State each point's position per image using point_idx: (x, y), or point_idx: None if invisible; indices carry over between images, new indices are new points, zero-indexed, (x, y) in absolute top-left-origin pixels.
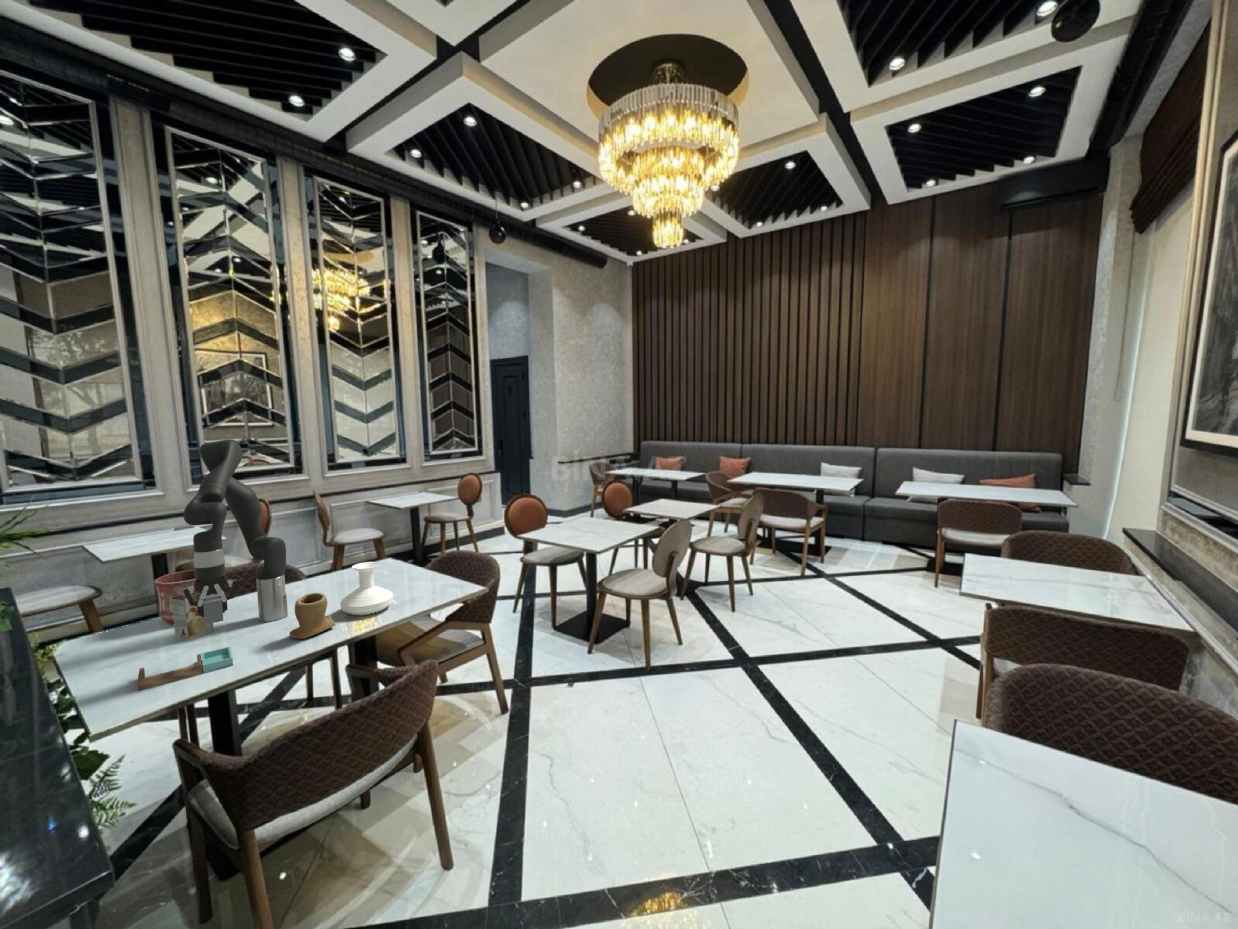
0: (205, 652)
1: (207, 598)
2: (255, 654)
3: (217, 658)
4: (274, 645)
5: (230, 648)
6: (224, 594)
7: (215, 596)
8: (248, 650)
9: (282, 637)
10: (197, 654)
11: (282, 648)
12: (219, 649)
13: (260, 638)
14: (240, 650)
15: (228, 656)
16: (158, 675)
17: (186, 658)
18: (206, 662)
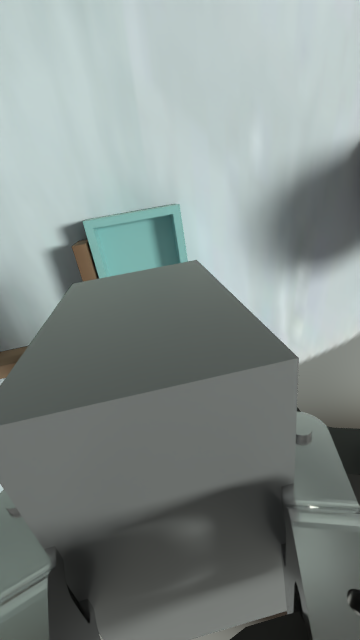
0: (95, 220)
1: (115, 547)
2: (249, 266)
3: (141, 251)
4: (306, 214)
5: (182, 232)
6: (345, 500)
7: (219, 499)
8: (230, 211)
9: (343, 135)
10: (73, 246)
11: (321, 261)
12: (143, 217)
13: (273, 78)
14: (204, 192)
15: (174, 253)
16: (4, 376)
17: (11, 149)
18: (112, 268)
